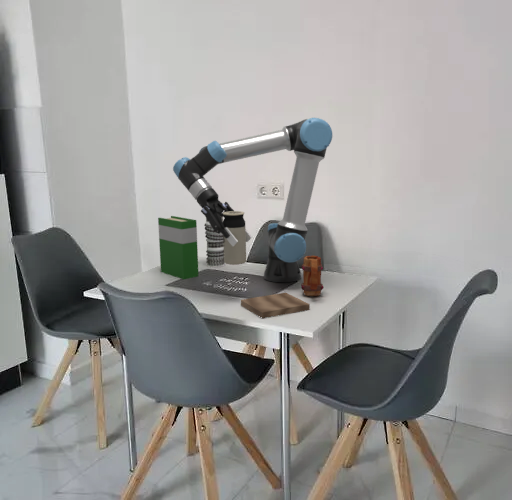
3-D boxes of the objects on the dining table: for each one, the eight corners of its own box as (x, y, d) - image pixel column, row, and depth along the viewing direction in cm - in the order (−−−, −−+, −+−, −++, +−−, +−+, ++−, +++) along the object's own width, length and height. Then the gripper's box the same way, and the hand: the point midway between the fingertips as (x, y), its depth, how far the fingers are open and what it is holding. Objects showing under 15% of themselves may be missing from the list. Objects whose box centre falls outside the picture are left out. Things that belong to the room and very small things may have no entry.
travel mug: (248, 260, 196) (247, 211, 192) (243, 265, 188) (242, 214, 185) (227, 259, 198) (225, 210, 194) (221, 264, 190) (219, 214, 186)
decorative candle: (208, 262, 253) (207, 209, 247) (228, 263, 251) (226, 209, 246) (203, 267, 244) (201, 212, 239) (223, 267, 242) (221, 212, 237)
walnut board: (285, 297, 196) (285, 292, 195) (309, 309, 182) (309, 304, 181) (240, 305, 188) (240, 299, 187) (262, 318, 174) (262, 312, 173)
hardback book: (160, 272, 236) (158, 217, 231) (175, 269, 241) (172, 215, 236) (183, 279, 223) (181, 222, 219) (198, 276, 228) (196, 220, 223)
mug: (300, 291, 204) (300, 252, 201) (322, 291, 203) (322, 252, 200) (302, 303, 189) (302, 261, 186) (325, 303, 189) (326, 261, 186)
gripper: (216, 198, 205) (252, 243, 200) (180, 204, 188) (218, 254, 183) (226, 184, 201) (264, 230, 196) (191, 189, 184) (231, 240, 179)
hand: (242, 241), depth 190 cm, fingers closed on travel mug, 8 cm apart
